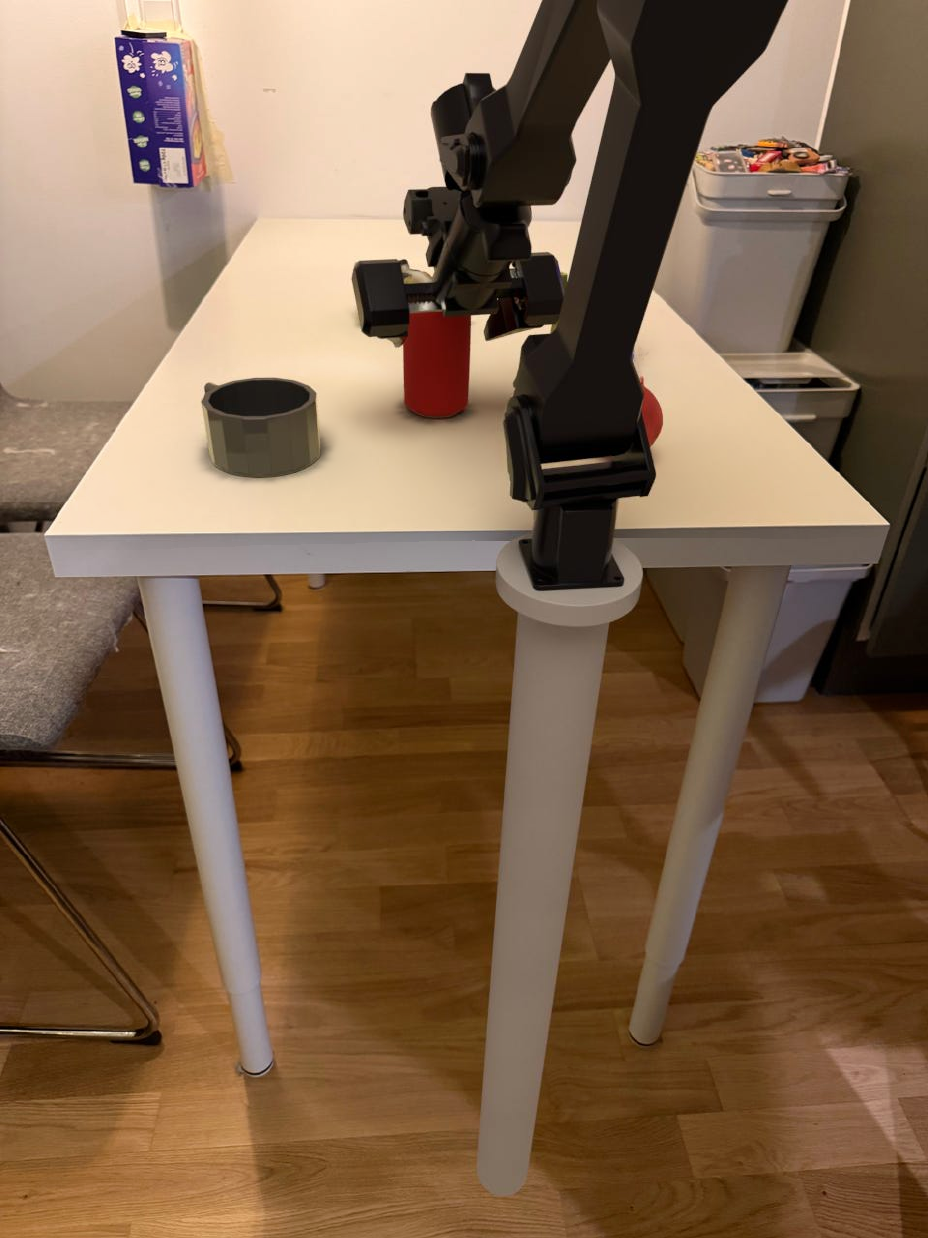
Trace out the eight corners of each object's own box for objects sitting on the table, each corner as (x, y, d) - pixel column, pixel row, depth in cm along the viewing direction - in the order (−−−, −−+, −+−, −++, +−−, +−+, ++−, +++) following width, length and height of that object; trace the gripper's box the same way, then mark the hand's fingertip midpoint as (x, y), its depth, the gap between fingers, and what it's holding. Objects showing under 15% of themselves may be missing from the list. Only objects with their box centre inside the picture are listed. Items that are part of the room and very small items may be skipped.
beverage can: (471, 399, 94) (475, 283, 88) (464, 423, 89) (467, 302, 82) (409, 395, 95) (408, 279, 88) (398, 419, 90) (396, 297, 83)
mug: (342, 452, 83) (339, 396, 79) (258, 488, 76) (251, 428, 73) (253, 416, 89) (247, 362, 86) (169, 445, 83) (159, 389, 80)
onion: (587, 464, 81) (596, 380, 77) (602, 441, 86) (613, 360, 81) (649, 476, 80) (663, 390, 75) (662, 452, 84) (675, 370, 80)
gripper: (566, 153, 75) (514, 260, 90) (350, 157, 70) (333, 269, 85) (594, 272, 73) (536, 361, 88) (375, 284, 68) (353, 376, 83)
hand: (441, 339), depth 86 cm, fingers open, 9 cm apart
